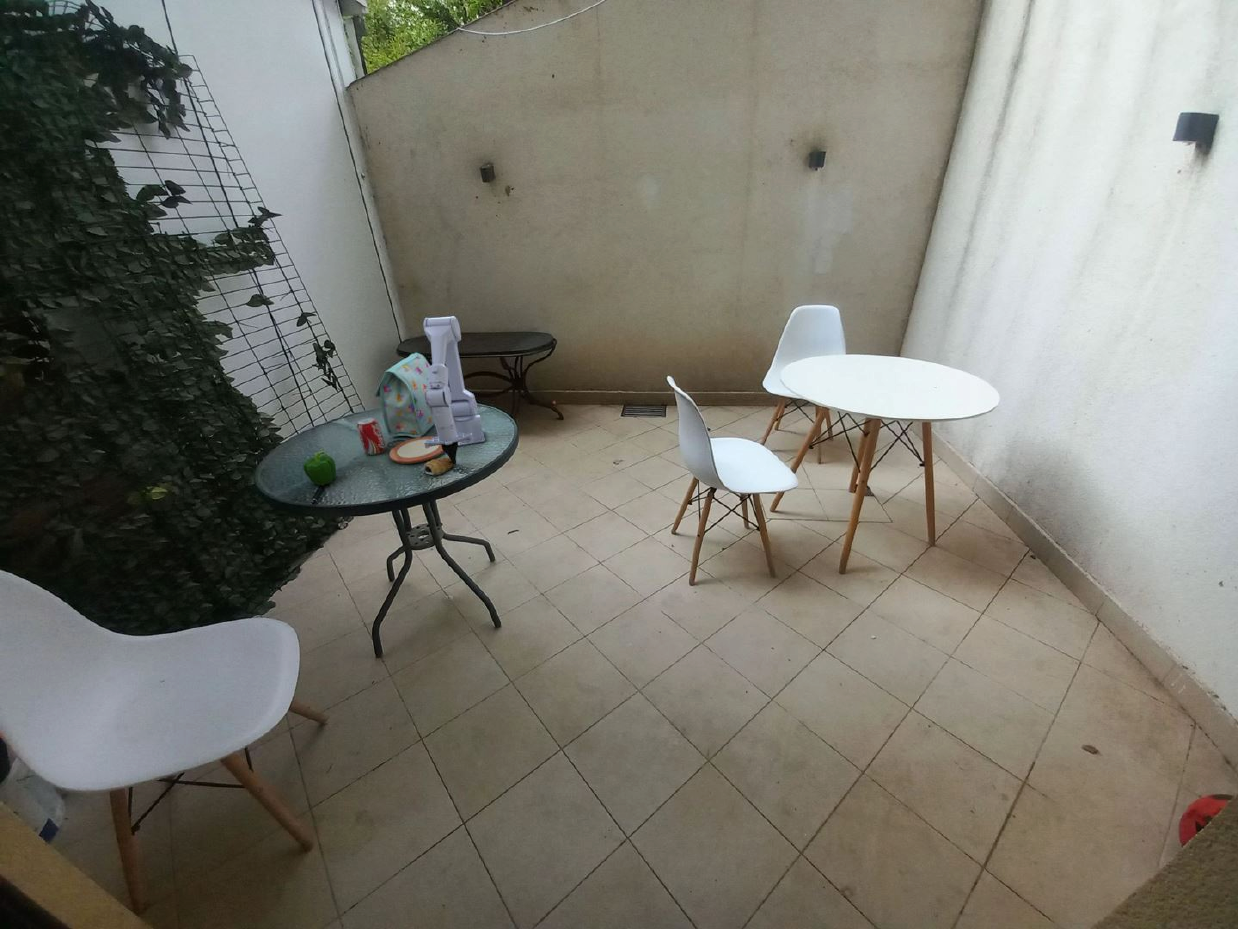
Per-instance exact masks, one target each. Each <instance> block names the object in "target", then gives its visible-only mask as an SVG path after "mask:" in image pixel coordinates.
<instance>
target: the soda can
mask: <svg viewBox="0 0 1238 929" xmlns="http://www.w3.org/2000/svg"><path fill="white" fill-rule="evenodd" d="M356 424H357V425H356V430H357V434H358V436H359V437H358V438H359V439H360V443H361V445H362V448H363V450H364V452H365V454H367V455H371V456H375V455H378V454H381V453H383V452H384V451H385V450H386V448H387V446H386V442H385V439H384V436H383V432H382V429H381V426H380V424H379V422H378V421H377V420H376V418H375V417H371V416H370V417H369V416H368V417H363V418H360V419H359V420H357V421H356Z"/></svg>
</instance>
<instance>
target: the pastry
mask: <svg viewBox="0 0 1238 929" xmlns="http://www.w3.org/2000/svg"><path fill="white" fill-rule="evenodd" d="M453 466H454V465H453V463H452V461H451V459H450V458H449V456H446V457H438V458H432V459H430V461H429V460H428V461H426V463H425V464H423V467H422V471H423V472H424V473H425V474H426V475H430V476H439V475H441V474H442V473H445V472H447V471H448V470H450V469H451V468H452V467H453Z"/></svg>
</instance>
